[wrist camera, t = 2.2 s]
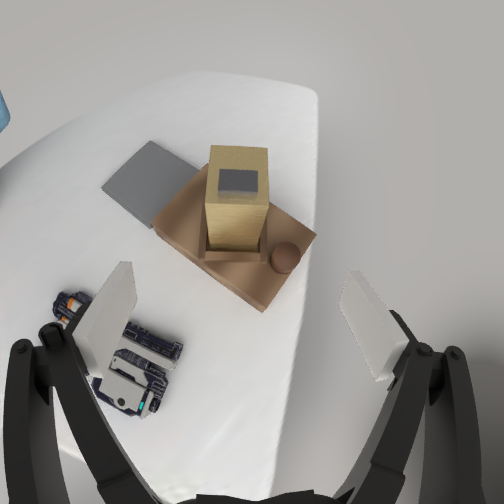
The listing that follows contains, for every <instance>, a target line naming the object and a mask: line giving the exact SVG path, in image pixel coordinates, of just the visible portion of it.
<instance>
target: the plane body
mask: <svg viewBox="0 0 504 504" xmlns="http://www.w3.org/2000/svg"><path fill="white" fill-rule="evenodd" d="M208 167H209V163H207V164H206V165H205V166H204V167H203V168H202V169H201V170H200V171H199V172H198V173H197V174H196V175H195V176H194V177H193V178H192V179H191V180H190V181H189V182H188V183H187V184H186V185H185V186H184V187H183V188H182V189H181V190H180V191H179V192H178V193H177V194H176V195H175V196H174V197H173V198H172V200H171V201H170V202H169V203H168V204H167V205H166V206H165V207H164V208H163V209H162V210H161V211H160V212H159V214H158V215H157V216H156V217H155V218H154V219H153V220H152V221H151V224H152V226H153V228H154V229H155V231H156V233H157V235H158V236H160V237H161V238H162V239H163V240H165V241H166V242H167V243H168V244H170V245H171V246H172V247H174V248H175V249H176V250H178V251H179V252H180V253H181V254H183V255H184V256H185V257H187V258H188V259H189V260H191V261H192V262H193V263H195V264H196V265H197V266H198V267H200V268H201V269H202V270H204V271H205V272H206V273H208V274H209V275H210V276H212V277H213V278H215V279H216V280H217V281H219V282H220V283H221V284H223V285H224V286H225V287H227V288H228V289H229V290H231V291H232V292H234V293H235V294H236V295H238V296H239V297H241V298H242V299H243V300H245V301H246V302H247V303H249V304H250V305H252V306H253V307H255V308H256V309H257V310H259V311H260V312H263V311H264V310H265V309H266V308H267V307H268V305H269V304H270V303H271V301H272V300H273V298H274V297H275V295H276V294H277V293H278V291H279V290H280V288H281V287H282V285H283V284H284V282H285V281H286V280H287V278H288V277H289V275H290V274H291V272H292V271H293V269H294V268H295V267H296V266H297V265H298V263H299V262H300V259H301V257H302V256H303V254H304V253H305V251H306V250H307V248H308V247H309V245H310V244H311V242H312V241H313V239H314V238H315V236H316V233H314V232H313V231H311V230H310V229H308V228H307V227H306V226H304V225H303V224H301V223H300V222H298V221H297V220H295V219H294V218H292V217H291V216H289V215H288V214H287V213H285V212H284V211H282V210H281V209H279V208H278V207H276V206H275V205H273V204H272V203H270V202H269V208H268V211H267V214H266V218H265V221H264V224H263V227H262V230H261V234H260V237H259V240H258V243H257V247H256V250H255V252H230V251H211V248H210V241H209V233H208V225H207V217H206V209H205V196H206V186H207V177H208Z"/></svg>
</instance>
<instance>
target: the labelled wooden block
mask: <svg viewBox="0 0 504 504" xmlns="http://www.w3.org/2000/svg"><path fill="white" fill-rule="evenodd" d="M268 208H269V186H268V153H267V148H258V147H242V146H218V145H211V150H210V159H209V167H208V177H207V186H206V196H205V209H206V217H207V225H208V233H209V241H210V248H211V251H230V252H255V250H256V247H257V243H258V240H259V237H260V234H261V230H262V227H263V224H264V221H265V218H266V214H267V211H268Z"/></svg>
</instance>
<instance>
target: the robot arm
mask: <svg viewBox="0 0 504 504" xmlns="http://www.w3.org/2000/svg"><path fill="white" fill-rule="evenodd" d="M9 121H10V114H9V111H8V108H7V106H6V104H5V101H4V99H3V96H2V94H1V91H0V132H2V130H3V129H4V128H5V127H6V126H7V125H8V123H9ZM137 300H138V299H137V294H136V288H135V282H134V275H133V268H132V262H124V261H120V262H119V264H118V265H117V266H116V268H115V269H114V271H113V272H112V273H111V275H110V276H109V278H108V279H107V281H106V282H105V284H104V285H103V287H102V288H101V289H100V291H99V292H98V294H97V295H96V297H95V298H94V300H93V302H92V303H88V302H85V303H84V304H82V305H81V306H80V307H79V308H78V309H77V311H76V312H75V314H74V315H73V317H72V318H71V320H70V321H69V323H68V324H67V326H66V327H65V329H64V328H63V326H62V325H61V324H60V323H57V322H52V323H48V324H46V325H44V326H43V327H42V328H41V329H40V331H39V334H38V336H39V338H40V340H41V343H42V345H43V346H36V347H34V346H33V344H32V343H31V341H30V340H28V339H20V340H18V341H16V342H15V343H14V344H13V345H12V348H11V351H10V357H9V363H8V370H7V378H6V387H5V398H4V415H3V445H4V464H5V474H6V482H7V489H8V496H9V504H70V501H69V498H68V494H67V490H66V486H65V482H64V477H63V473H62V468H61V463H60V458H59V452H58V444H57V437H56V429H55V419H54V406H53V386H55V388H56V391H57V394H58V397H59V400H60V403H61V406H62V408H63V411H64V414H65V416H66V419H67V421H68V424H69V426H70V429H71V431H72V433H73V436H74V438H75V440H76V442H77V445H78V447H79V449H80V451H81V453H82V455H83V457H84V459H85V461H86V463H87V465H88V467H89V469H90V471H91V472H92V474H93V476H94V478H95V480H96V482H97V489H98V491H99V493H100V495H101V496H102V498H103V500H104V501H105V503H106V504H164V503H163V502H162V501H161V499H160V498H159V497H158V496H157V495H156V494H155V493H154V491H153V490H152V489H151V488H150V486H149V485H148V484H147V482H146V481H145V480H144V478H143V477H142V476H141V474H140V473H139V471H138V470H137V469H136V467H135V466H134V464H133V463H132V461H131V460H130V458H129V457H128V455H127V454H126V452H125V450H124V449H123V447H122V446H121V444H120V442H119V441H118V439H117V437H116V436H115V434H114V432H113V431H112V429H111V427H110V425H109V424H108V422H107V420H106V418H105V416H104V414H103V412H102V410H101V409H100V407H99V405H98V403H97V401H96V399H95V396H94V394H93V392H92V390H91V388H90V386H89V384H88V381H87V379H86V377H85V375H84V374H85V371H86V369H87V370H88V372H89V374H90V376H93V377H97V378H102V379H104V378H105V375H106V373H107V370H108V367H109V365H110V362H111V360H112V357H113V355H114V352H115V350H116V348H117V345H118V343H119V341H120V338H121V336H122V334H123V331H124V329H125V327H126V324H127V322H128V320H129V318H130V315H131V313H132V311H133V309H134V307H135V304H136V302H137ZM339 308H340V309H341V312H342V313H343V315H344V317H345V319H346V321H347V323H348V325H349V327H350V329H351V331H352V333H353V335H354V337H355V339H356V341H357V344H358V346H359V348H360V350H361V352H362V354H363V356H364V358H365V360H366V362H367V364H368V366H369V368H370V371H371V373H372V375H373V377H374V379H375V381H381V380H386V379H388V378H389V376H390V374H391V373H392V371H393V373H394V375H395V378H394V380H393V381H392V383H391V384H390V386H389V388H388V389H387V390H388V391H389V392H388V395H387V397H386V400H385V402H384V404H383V407H382V409H381V412H380V414H379V416H378V418H377V421H376V423H375V425H374V427H373V430H372V432H371V434H370V436H369V438H368V440H367V442H366V444H365V446H364V448H363V450H362V452H361V454H360V456H359V457H358V459H357V461H356V463H355V465H354V467H353V469H352V470H351V472H350V474H349V475H348V477H347V479H346V480H345V482H344V483H343V485H342V486H341V487H340V489H339V490H338V491H337V492H336V494H335V495H334V496H333V497H332V498H331V497H328V496H324V495H318V494H314V490H307V491H299V492H290V493H284V494H281V495H279V496H275V497H271V498H268V499H264V500H261V501H250V500H245V499H240V498H235V497H230V496H225V495H202V494H196V499H190V500H186V501H182V502H179V503H177V504H395V503H396V500H397V498H398V496H399V494H400V492H401V489H402V487H403V485H404V482H405V475H403V470H404V467H405V465H406V462H407V460H408V457H409V454H410V451H411V449H412V445H413V443H414V439H415V436H416V433H417V430H418V426H419V423H420V420H421V416H422V412H423V408H424V405H425V443H424V461H423V472H422V482H421V489H420V496H419V504H486V501H485V497H484V493H483V490H482V486H481V451H480V437H479V427H478V419H477V412H476V405H475V399H474V394H473V388H472V383H471V379H470V374H469V370H468V366H467V361H466V358H465V355H464V352H463V351H462V350H461V349H460V348H458V347H456V346H449V347H447V348H446V350H445V352H444V353H440V352H434V351H433V349H432V348H431V347H430V346H429V345H427V344H425V343H422V342H418V341H417V339H416V338H415V336H414V335H413V334H412V332H411V331H410V329H409V328H408V327H407V325H406V323H405V322H404V321H403V319H402V318H401V316H400V315H399V314H397V313H396V312H395V311H394V310H388V309H387V307H386V306H385V305H384V303H383V302H382V300H381V299H380V297H379V296H378V295H377V293H376V292H375V291H374V289H373V288H372V287H371V285H370V284H369V282H368V281H367V280H366V279H365V277H364V276H363V275H362V273H361V272H360V271H359V270H348V273H347V277H346V280H345V285H344V288H343V292H342V296H341V299H340V302H339Z"/></svg>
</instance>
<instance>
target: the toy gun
mask: <svg viewBox="0 0 504 504" xmlns="http://www.w3.org/2000/svg"><path fill="white" fill-rule="evenodd" d="M85 302H88V303H92V302H93V301H92V298H90V297H89V296H87V295H85V294H84V293H82V292H80V291H79V292H78V293H76V294H75V295H73V294H72V295H71V296H69V295H68V294H66V293H64V292H60V293H59V294H58V296H57V299H56V301H54V303H53V309H52V310H53V313H54V316H55V317H57V318H58V321H56V322H57V323H60V324H61V325H62V326H63V328H64V329H65V327H66V326H67V324H68V323H69V321H70V320H71V318H72V317H73V315H74V314H75V312H76V311H77V309H78V308H79V307H80V306H81V305H82V304H84V303H85ZM143 330H144V329H143V328H140V329H138V328H137V325H134V326H132V322H130V321H129V322H128V323H127V324H126V327H125V329H124V331H123V334H122V336H121V338H120V341H119V343H118V345H117V348H116V350H115V352H114V355H113V357H112V360H111V362H110V365H109V367H108V370H107V373H106V375H105V378H104V379H102V378H97V377H94V378H93V381H92V384H91V386H92V389H93V391H94V393H95V395H96V397H97V398H99V399H101V400H102V401H104V402H106V403H107V404H109V405H111V406H112V407H114V408H116V409H118V410H119V411H121V412H123V413H125V414H127V415H129V416H134V415H137V416H139V417H140V418H141V419H143V418H145V417H146V416H148V415H149V414H150V412H153V413H156V411H157V410H158V408H159V406H160V403H161V400H160V399H161V398H162V397H163V395H164V392H165V390H166V387H165V386H167V385H168V381H167V379H166V378H165V377H164V376H165V374H166V373H164V372H161V371H160V370H158V369H156V368H154V367H151V365H152V362H153V363H155V364H157V365H159V366H161V367H163V368H166V369H168V370H170V371H172V370H174V369H175V367H176V364H177V363H176V361H175V360H178V358H179V356H180V353H181V351H182V349H183V345H182V344H180V343H178V342H175V343H173V344H172V343H170V342H168V341H166V340H164V339H161V338H159V337H157V336H155V335H153V334H151V333H149V331H147V330H145V332H144V331H143ZM84 375H85V376H87V375H90V374H89V372H88V370H87V369H86V371H85V374H84Z"/></svg>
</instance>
